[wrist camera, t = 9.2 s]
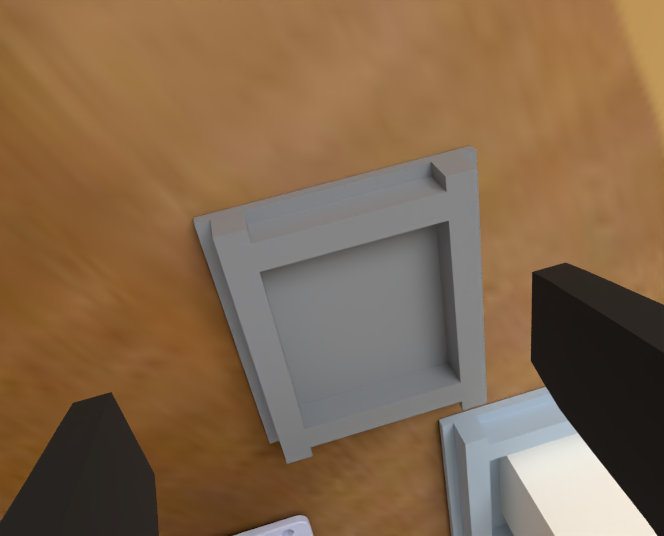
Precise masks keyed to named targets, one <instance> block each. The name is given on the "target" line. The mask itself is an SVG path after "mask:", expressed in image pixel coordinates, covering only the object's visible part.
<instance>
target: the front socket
mask: <svg viewBox="0 0 664 536" xmlns="http://www.w3.org/2000/svg"><path fill="white" fill-rule="evenodd" d="M194 225H195V228H196V231H197V234H198V237H199V240H200V243H201V246H202V248H203V251H204V254H205V257H206V260H207V263H208V266H209V269H210V272H211V275H212V277H213V280H214V283H215V286H216V289H217V292H218V295H219V298H220V301H221V304H222V306H223V309H224V312H225V315H226V318H227V321H228V324H229V327H230V330H231V333H232V335H233V338H234V341H235V344H236V347H237V350H238V353H239V356H240V359H241V362H242V364H243V367H244V370H245V373H246V376H247V379H248V382H249V385H250V388H251V390H252V393H253V396H254V399H255V402H256V405H257V408H258V411H259V414H260V417H261V419H262V422H263V425H264V428H265V431H266V434H267V437H268V440H269V443H270V444H271V443H274V442H277V441H280V444H281V447H282V450H283V453H284V456H285V459H286V462H287V464H289V463H292V462H295V461H299V460H302V459H305V458H309V457H312V456H313V454H312V450H311V447H314V446H317V445H320V444H323V443H327V442H330V441H333V440H337V439H340V438H343V437H346V436H350V435H353V434H356V433H360V432H363V431H366V430H370V429H373V428H376V427H379V426H383V425H386V424H389V423H393V422H396V421H399V420H402V419H406V418H409V417H412V416H416V415H419V414H422V413H425V412H429V411H432V410H435V409H439V408H442V407H445V406H448V405H452V404H455V403H459V405H460V406H461V408H462V410H466V409H469V408H472V407H475V406H479V405H482V404H485V403H487V390H486V366H485V341H484V316H483V291H482V266H481V242H480V217H479V192H478V168H477V157H476V149H475V148H473V147H472V146H467V147H463V148H459V149H456V150H452V151H448V152H444V153H440V154H436V155H433V156H429V157H425V158H421V159H417V160H413V161H410V162H406V163H402V164H398V165H394V166H390V167H386V168H383V169H379V170H375V171H371V172H367V173H363V174H360V175H356V176H352V177H348V178H344V179H340V180H337V181H333V182H329V183H325V184H321V185H317V186H314V187H310V188H306V189H302V190H298V191H294V192H291V193H287V194H283V195H279V196H275V197H271V198H268V199H264V200H260V201H256V202H252V203H248V204H245V205H241V206H237V207H233V208H229V209H225V210H221V211H218V212H214V213H210V214H206V215H202V216H198V217H195V218H194Z"/></svg>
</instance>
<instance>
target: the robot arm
mask: <svg viewBox="0 0 664 536" xmlns="http://www.w3.org/2000/svg"><path fill="white" fill-rule="evenodd" d="M531 362H532V363H533V365H534V367H535V369H536V370H537V372H538V374H539V376H540V377H541V379H542V381H543V383H544V384H545V386H546V388H547V390H548V391H549V393H550V394H551V396H552V398H553V399H554V401H555V403H556V404H557V406H558V407H559V409H560V410H561V412H562V413H563V414H564V416H565V417H566V418H567V420H568V421H569V422H570V424H571V425H572V426H573V428H574V429H575V430H576V431H577V433H578V434H579V435H580V437H581V438H582V439H583V440H584V442H585V443H586V444H587V446H588V447H589V448H590V449H591V451H592V452H593V453H594V454H595V456H596V457H597V458H598V460H599V461H600V462H601V463H602V465H603V466H604V467H605V468H606V470H607V471H608V472H609V474H610V475H611V476H612V477H613V479H614V480H615V481H616V482H617V484H618V485H619V486H620V487H621V489H622V490H623V491H624V493H625V494H626V495H627V496H628V498H629V499H630V500H631V501H632V503H633V504H634V505H635V507H636V508H637V509H638V510H639V512H640V513H641V514H642V515H643V517H644V518H645V519H646V521H647V522H648V523H649V525H650V526H651V528H652V529H653V530H654V532H655V533H656V534H657V536H664V305H663V304H660V303H658V302H656V301H654V300H651V299H649V298H647V297H644V296H642V295H640V294H638V293H635V292H633V291H631V290H629V289H626V288H624V287H622V286H620V285H617V284H615V283H613V282H611V281H608V280H606V279H604V278H602V277H599V276H597V275H595V274H592V273H590V272H588V271H585V270H583V269H581V268H578V267H576V266H573V265H570V264H568V263H563V264H559V265H556V266H552V267H549V268H545V269H541V270H538V271H534V272H532V327H531ZM0 536H159V531H158V514H157V500H156V488H155V475H154V472H153V470H152V468H151V467H150V465H149V463H148V461H147V459H146V457H145V455H144V453H143V451H142V449H141V448H140V446H139V444H138V442H137V440H136V438H135V436H134V434H133V432H132V431H131V429H130V427H129V425H128V423H127V421H126V419H125V417H124V415H123V413H122V412H121V410H120V408H119V406H118V404H117V402H116V400H115V398H114V396H113V395H112V393H111V392H110V393H107V394H103V395H100V396H96V397H93V398H89V399H86V400H82V401H79V402H75V403H73V404H72V406H71V407H70V409H69V410H68V412H67V414H66V415H65V417H64V419H63V420H62V422H61V423H60V425H59V427H58V428H57V430H56V432H55V433H54V435H53V437H52V438H51V440H50V442H49V443H48V445H47V447H46V448H45V450H44V452H43V453H42V455H41V457H40V458H39V460H38V462H37V463H36V465H35V467H34V468H33V470H32V472H31V473H30V475H29V477H28V478H27V480H26V482H25V483H24V485H23V487H22V488H21V490H20V491H19V493H18V495H17V496H16V498H15V499H14V501H13V503H12V504H11V506H10V507H9V509H8V511H7V512H6V514H5V515H4V517H3V519H2V520H1V522H0ZM233 536H314V535H313V532H312V529H311V526H310V523H309V520H308V518H307V517H305V516H303V515H297V516H293V517H290V518H287V519H284V520H281V521H277V522H274V523H271V524H268V525H265V526H262V527H258V528H255V529H252V530H249V531H246V532H242V533H239V534H236V535H233Z"/></svg>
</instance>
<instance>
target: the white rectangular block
mask: <svg viewBox="0 0 664 536" xmlns="http://www.w3.org/2000/svg"><path fill="white" fill-rule="evenodd" d="M500 504H501V513H502V515H503V516H504V518H505V520H506V522H507V524H508V526H509V528H510V529H511V531H512V533H513V535H514V536H657V534H656V533H655V532H654V530H653V529H652V528H651V526H650V525H649V523H648V522H647V521H646V519H645V518H644V517H643V515H642V514H641V513H640V512H639V510H638V509H637V508H636V507H635V505H634V504H633V503H632V501H631V500H630V499H629V498H628V496H627V495H626V494H625V493H624V491H623V490H622V489H621V487H620V486H619V485H618V484H617V482H616V481H615V480H614V479H613V477H612V476H611V475H610V474H609V472H608V471H607V470H606V468H605V467H604V466H603V465H602V463H601V462H600V461H599V460H598V458H597V457H596V456H595V454H594V453H593V452H592V451H591V449H590V448H589V447H588V446H587V444H586V443H585V442H584V440H583V439H582V438H581V437H580V435H579V434H578V433H576V434H573V435H570V436H567V437H564V438H561V439H557V440H554V441H551V442H548V443H545V444H542V445H538V446H535V447H532V448H529V449H526V450H523V451H519V452H516V453H513V454H510V455H507V456H504V457H500Z"/></svg>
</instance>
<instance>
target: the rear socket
mask: <svg viewBox="0 0 664 536" xmlns="http://www.w3.org/2000/svg"><path fill="white" fill-rule="evenodd" d="M439 425H440V435H441V444H442V454H443V463H444V473H445V482H446V491H447V501H448V510H449V520H450V529H451V536H514V535H513V533H512V531H511V529H510V528H509V526H508V524H507V522H506V520H505V518H504V516H503V515H502V513H501V504H500V457H504V456H507V455H510V454H513V453H516V452H519V451H523V450H526V449H529V448H532V447H535V446H538V445H542V444H545V443H548V442H551V441H554V440H557V439H561V438H564V437H567V436H570V435H573V434H576V433H577V431H576V430H575V429H574V428H573V426H572V425H571V424H570V422H569V421H568V420H567V418H566V417H565V416H564V414H563V413H562V412H561V410H560V409H559V407H558V406H557V404H556V403H555V401H554V399H553V398H552V396H551V394H550V393H549V391H548V390H547V388H546V387H543V388H540V389H537V390H534V391H530V392H527V393H524V394H521V395H517V396H514V397H511V398H507V399H504V400H501V401H498V402H494V403H491V404H488V405H485V406H481V407H478V408H475V409H471V410H468V411H465V412H462V413H458V414H455V415H452V416H449V417H445V418H442V419H439Z"/></svg>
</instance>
